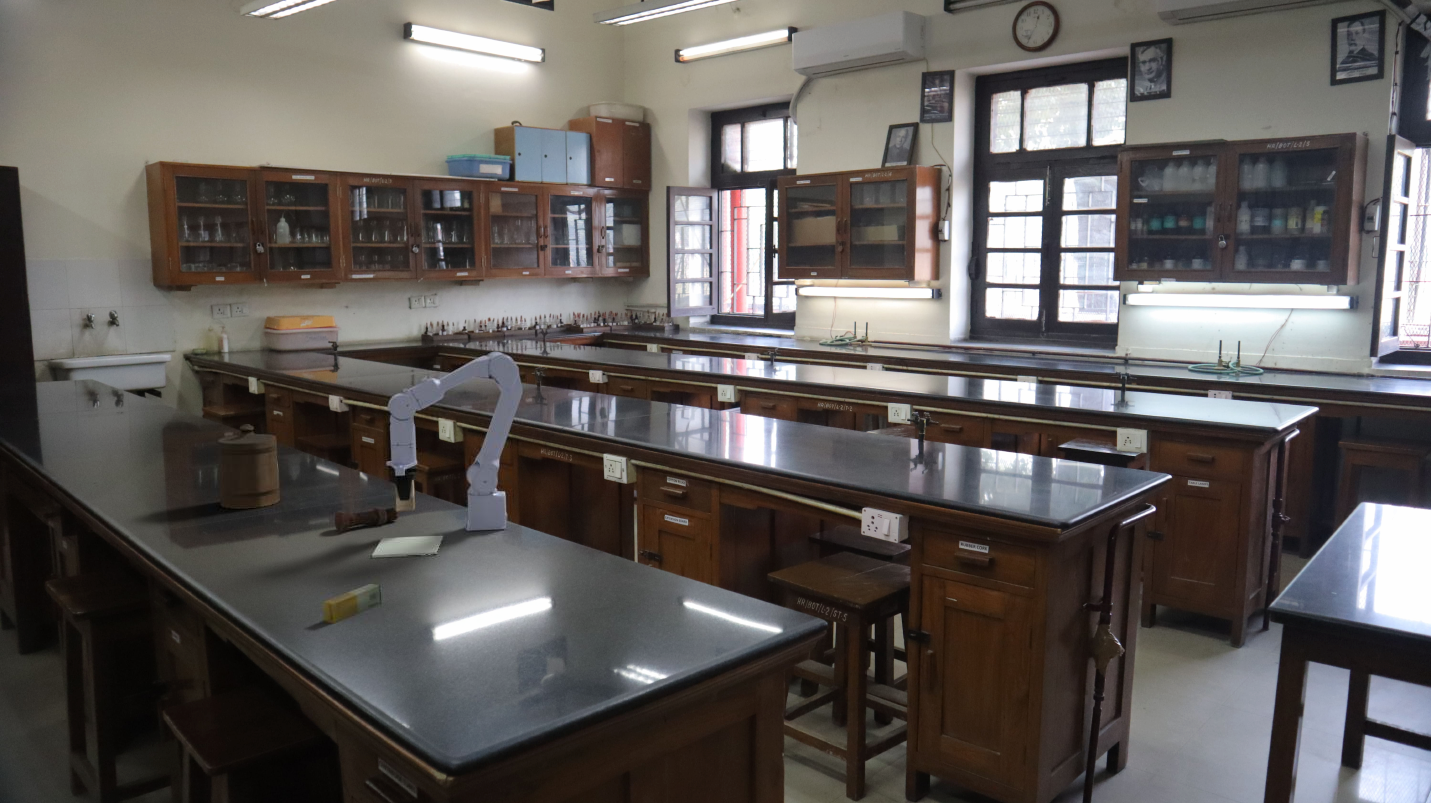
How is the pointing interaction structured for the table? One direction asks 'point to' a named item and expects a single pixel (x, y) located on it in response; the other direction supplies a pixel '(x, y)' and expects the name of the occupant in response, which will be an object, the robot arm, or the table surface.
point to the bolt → (364, 518)
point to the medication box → (352, 603)
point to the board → (407, 546)
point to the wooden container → (248, 470)
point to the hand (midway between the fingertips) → (405, 498)
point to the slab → (406, 501)
